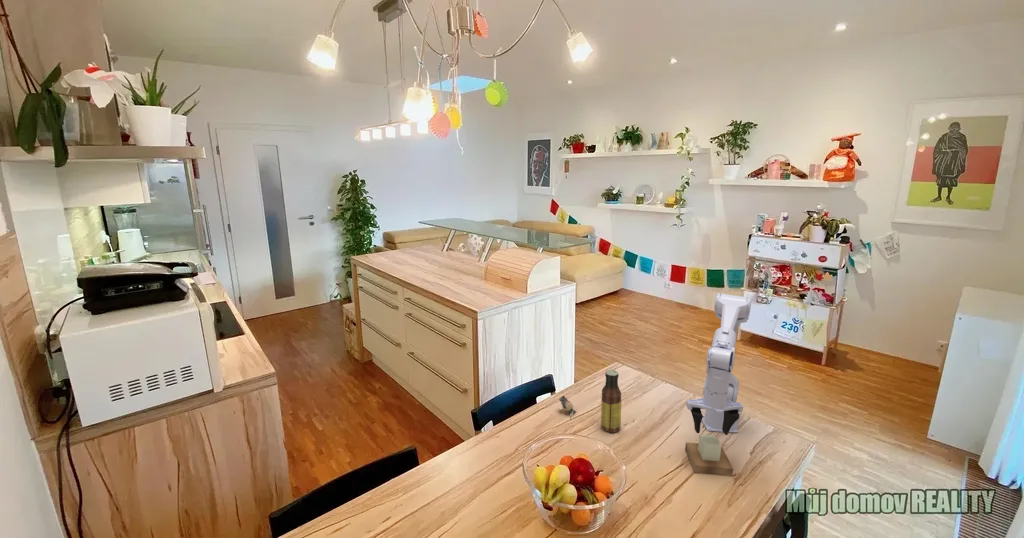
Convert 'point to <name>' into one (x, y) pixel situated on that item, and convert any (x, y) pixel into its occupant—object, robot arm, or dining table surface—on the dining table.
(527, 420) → the dining table surface
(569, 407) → the bird figurine
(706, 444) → the sage cube
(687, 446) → the walnut block
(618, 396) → the sauce bottle
